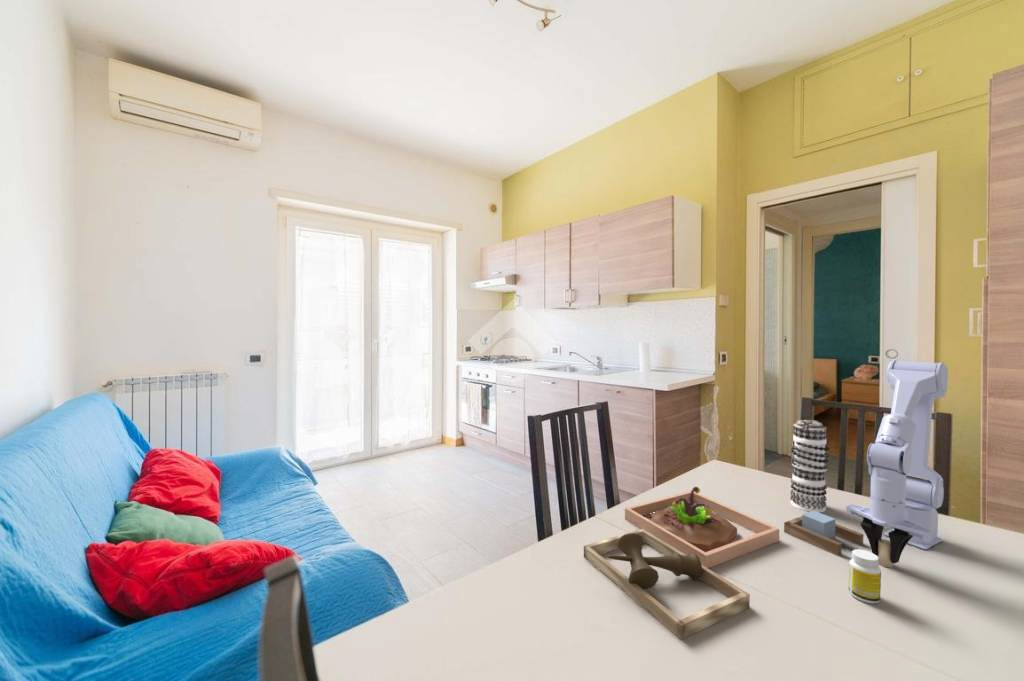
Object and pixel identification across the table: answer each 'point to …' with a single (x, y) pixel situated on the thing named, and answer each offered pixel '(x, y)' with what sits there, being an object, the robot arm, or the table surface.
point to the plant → (695, 524)
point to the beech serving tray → (679, 627)
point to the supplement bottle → (864, 576)
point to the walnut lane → (821, 541)
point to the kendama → (654, 562)
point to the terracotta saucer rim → (726, 552)
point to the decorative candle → (809, 466)
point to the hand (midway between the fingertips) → (885, 558)
